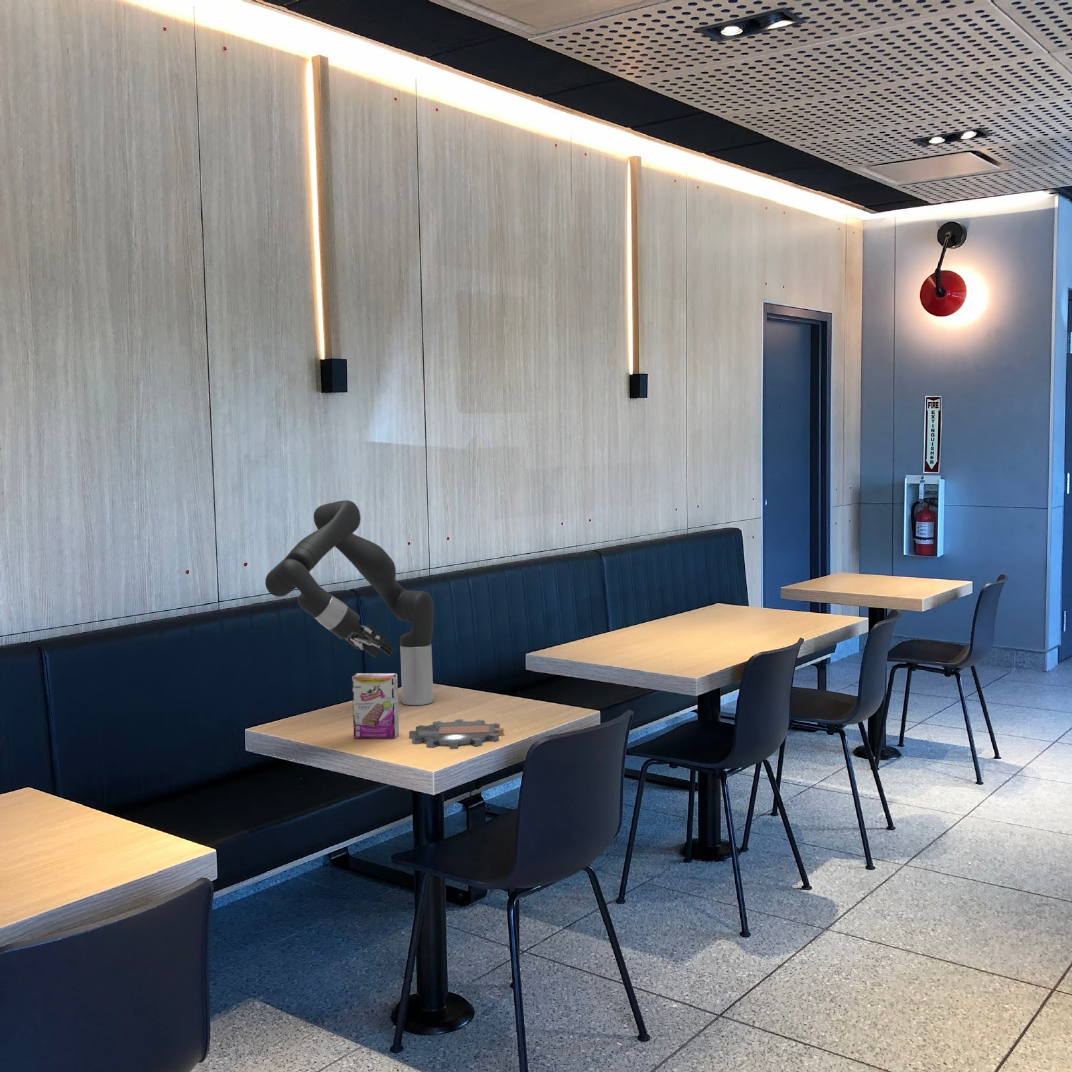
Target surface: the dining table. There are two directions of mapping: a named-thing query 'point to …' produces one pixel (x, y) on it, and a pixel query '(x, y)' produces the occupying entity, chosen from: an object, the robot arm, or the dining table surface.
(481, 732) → the sprocket plate
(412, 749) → the dining table surface
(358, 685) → the candy bar box
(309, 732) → the dining table surface
